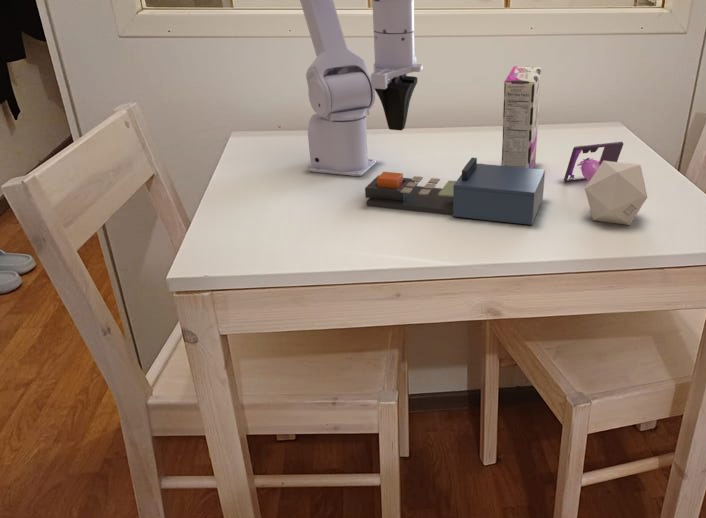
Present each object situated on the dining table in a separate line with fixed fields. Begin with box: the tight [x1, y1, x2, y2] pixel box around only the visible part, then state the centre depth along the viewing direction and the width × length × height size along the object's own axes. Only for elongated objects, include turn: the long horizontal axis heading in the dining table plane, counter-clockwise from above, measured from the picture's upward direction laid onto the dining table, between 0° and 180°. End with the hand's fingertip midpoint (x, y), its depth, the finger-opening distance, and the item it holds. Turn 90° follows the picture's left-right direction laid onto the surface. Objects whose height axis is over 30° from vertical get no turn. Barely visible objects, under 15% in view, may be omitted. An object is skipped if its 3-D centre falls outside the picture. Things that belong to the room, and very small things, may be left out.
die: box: [584, 161, 648, 226], centre depth 104 cm, size 8×9×10 cm
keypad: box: [401, 176, 457, 197], centre depth 109 cm, size 8×7×1 cm
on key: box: [377, 171, 404, 188], centre depth 111 cm, size 3×3×2 cm
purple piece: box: [563, 141, 624, 183], centre depth 117 cm, size 7×5×9 cm
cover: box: [452, 157, 546, 226], centre depth 107 cm, size 12×10×6 cm
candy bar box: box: [501, 65, 542, 169], centre depth 118 cm, size 11×5×16 cm, turn 168°
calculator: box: [364, 174, 453, 216], centre depth 110 cm, size 16×9×2 cm, turn 75°
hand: (396, 128), depth 108 cm, fingers closed
